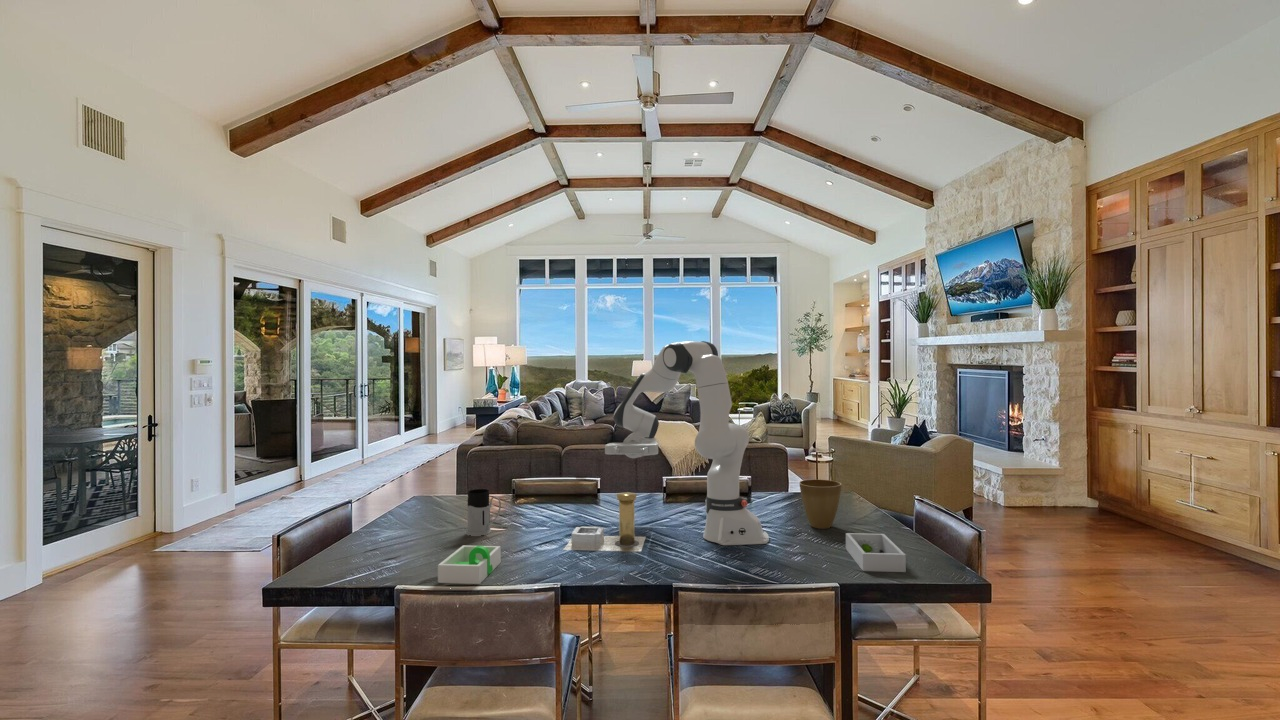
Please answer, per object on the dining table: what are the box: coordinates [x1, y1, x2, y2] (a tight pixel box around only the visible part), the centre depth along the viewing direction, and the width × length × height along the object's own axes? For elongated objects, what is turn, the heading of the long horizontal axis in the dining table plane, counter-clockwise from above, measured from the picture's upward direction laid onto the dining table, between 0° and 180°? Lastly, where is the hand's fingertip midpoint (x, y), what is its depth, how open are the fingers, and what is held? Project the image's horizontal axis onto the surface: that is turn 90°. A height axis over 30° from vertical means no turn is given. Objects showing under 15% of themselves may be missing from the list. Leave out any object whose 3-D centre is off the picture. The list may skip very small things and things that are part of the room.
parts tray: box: [437, 544, 502, 585], centre depth 179 cm, size 12×18×5 cm, turn 174°
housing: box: [563, 525, 647, 553], centre depth 201 cm, size 25×16×6 cm, turn 84°
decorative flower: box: [856, 539, 881, 553], centre depth 185 cm, size 8×6×15 cm
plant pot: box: [798, 478, 842, 530], centre depth 224 cm, size 15×15×16 cm
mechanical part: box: [456, 545, 494, 576], centre depth 179 cm, size 12×6×8 cm, turn 87°
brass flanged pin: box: [616, 491, 637, 545], centre depth 200 cm, size 6×6×16 cm
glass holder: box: [466, 488, 502, 537], centre depth 218 cm, size 9×14×15 cm, turn 64°
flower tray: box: [845, 532, 907, 573], centre depth 186 cm, size 12×21×5 cm, turn 174°
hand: (629, 451), depth 223 cm, fingers open, 8 cm apart
